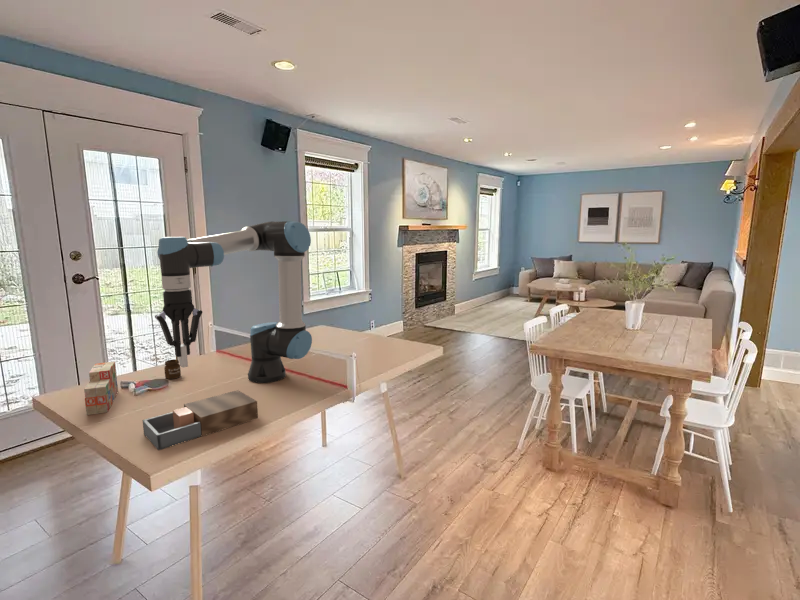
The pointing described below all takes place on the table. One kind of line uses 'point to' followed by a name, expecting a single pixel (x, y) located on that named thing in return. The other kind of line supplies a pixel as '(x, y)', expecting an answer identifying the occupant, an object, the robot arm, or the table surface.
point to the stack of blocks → (101, 388)
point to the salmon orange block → (182, 417)
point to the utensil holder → (172, 368)
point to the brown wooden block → (223, 411)
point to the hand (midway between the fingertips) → (183, 366)
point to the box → (168, 431)
